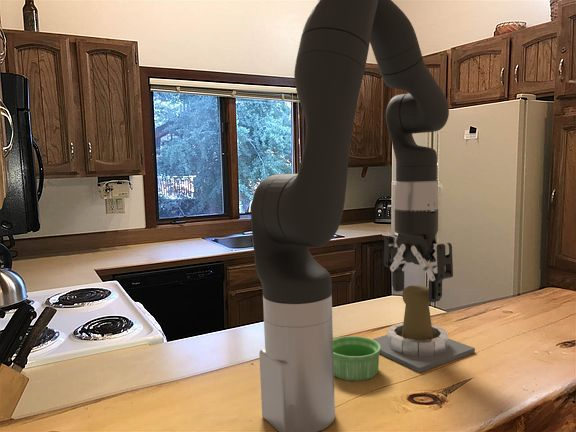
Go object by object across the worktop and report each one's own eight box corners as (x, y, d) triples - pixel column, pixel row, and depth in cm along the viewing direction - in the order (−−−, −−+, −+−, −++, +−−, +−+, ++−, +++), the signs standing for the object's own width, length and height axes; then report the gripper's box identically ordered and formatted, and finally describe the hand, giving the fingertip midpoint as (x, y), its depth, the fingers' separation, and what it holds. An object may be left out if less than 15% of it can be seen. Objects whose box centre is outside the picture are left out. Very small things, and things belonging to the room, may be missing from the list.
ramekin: (326, 383, 74) (325, 356, 73) (327, 359, 83) (326, 335, 82) (383, 384, 73) (383, 357, 72) (378, 360, 82) (378, 335, 81)
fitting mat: (419, 372, 76) (419, 368, 76) (363, 346, 88) (362, 341, 88) (474, 352, 83) (474, 347, 83) (415, 330, 95) (415, 326, 95)
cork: (431, 339, 88) (430, 282, 87) (438, 351, 82) (437, 291, 81) (398, 339, 88) (397, 282, 87) (403, 351, 82) (402, 291, 81)
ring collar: (418, 361, 78) (418, 347, 78) (376, 342, 87) (376, 329, 87) (459, 347, 84) (459, 333, 83) (416, 330, 92) (415, 318, 92)
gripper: (373, 206, 87) (373, 291, 88) (433, 210, 75) (432, 309, 76) (402, 203, 91) (402, 285, 92) (463, 207, 78) (462, 301, 80)
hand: (415, 295), depth 84 cm, fingers open, 8 cm apart
